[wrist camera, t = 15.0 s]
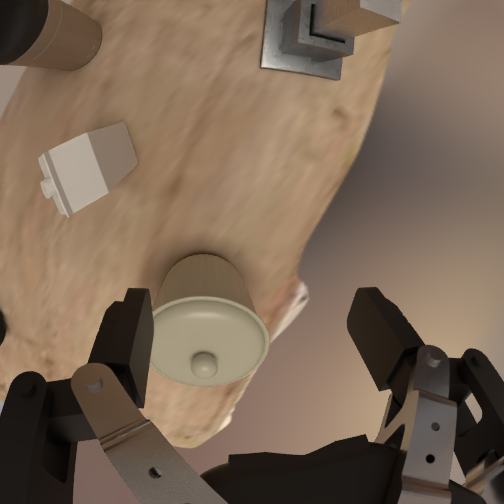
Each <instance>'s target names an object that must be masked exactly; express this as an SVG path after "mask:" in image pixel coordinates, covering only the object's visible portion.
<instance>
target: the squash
mask: <svg viewBox="0 0 504 504" xmlns="http://www.w3.org/2000/svg"><path fill="white" fill-rule="evenodd" d="M5 334H6V330H5V326H4V324H3V323H2V318H1V316H0V345H1V344H2V342H3V340H4V338H5Z"/></svg>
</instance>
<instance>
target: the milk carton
mask: <svg viewBox="0 0 504 504" xmlns="http://www.w3.org/2000/svg"><path fill="white" fill-rule="evenodd" d="M38 160H39V163H40V166H41V169H42V172H43V174H44V177H45V179H44V180H42V181H41V188H42V191H43V193H44V195H45V197H46V198H48V199H49V198H51V197H53V199H54V201H55V204H56V206H57V208H58V210H59V213H60V214H66V215H67V217H68V218H69V217H70V216H71V215H72V214H73V213H75V212H77V211H78V210H80V209H82V208H84V207H85V206H87V205H89V204H90V203H92V202H94V201H96V200H98V199H99V198H101V197H103V196H105V195H106V194H108V193H109V192H110V191H111V190H112V189H113V188H114V187H115V186H116V185H117V184H118V183H119V182H120V181H121V180H122V179H123V178H124V177H125V176H126V175H127V174H129V173H130V172H131V171H132V170H133V169H134V168H135V167H136V166H137V165H138V164H139V163H138V160H137V157H136V154H135V151H134V148H133V145H132V142H131V139H130V136H129V133H128V130H127V127H126V124H125V122H121V123H118V124H114V125H110V126H107V127H103V128H100V129H97V130H93V131H90V132H87V133H84V134H82V135H80V136H77V137H75V138H73V139H71V140H69V141H67V142H65V143H63V144H61V145H59V146H57V147H55V148H53V149H51V150H49V151H46V152H44V153H42V156H41V157H39V158H38Z"/></svg>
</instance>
